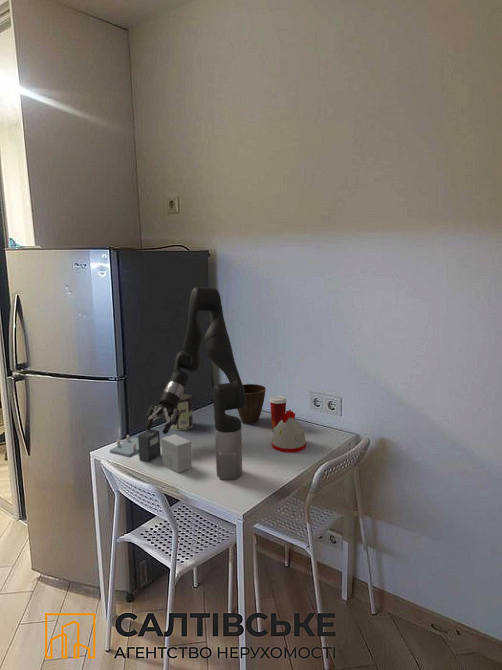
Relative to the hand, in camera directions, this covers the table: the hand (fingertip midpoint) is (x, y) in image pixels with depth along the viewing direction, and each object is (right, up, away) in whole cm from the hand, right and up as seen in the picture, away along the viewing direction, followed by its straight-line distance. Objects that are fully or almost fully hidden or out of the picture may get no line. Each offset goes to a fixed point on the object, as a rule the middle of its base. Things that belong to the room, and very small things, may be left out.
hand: (155, 431), depth 183 cm
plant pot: (+37, -3, +35) cm, 51 cm away
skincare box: (+10, -11, -9) cm, 18 cm away
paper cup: (+50, -4, +26) cm, 56 cm away
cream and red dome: (+53, -7, +8) cm, 54 cm away
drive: (-2, -10, -2) cm, 10 cm away
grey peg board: (-11, -8, +7) cm, 16 cm away
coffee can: (+6, -4, +30) cm, 31 cm away
